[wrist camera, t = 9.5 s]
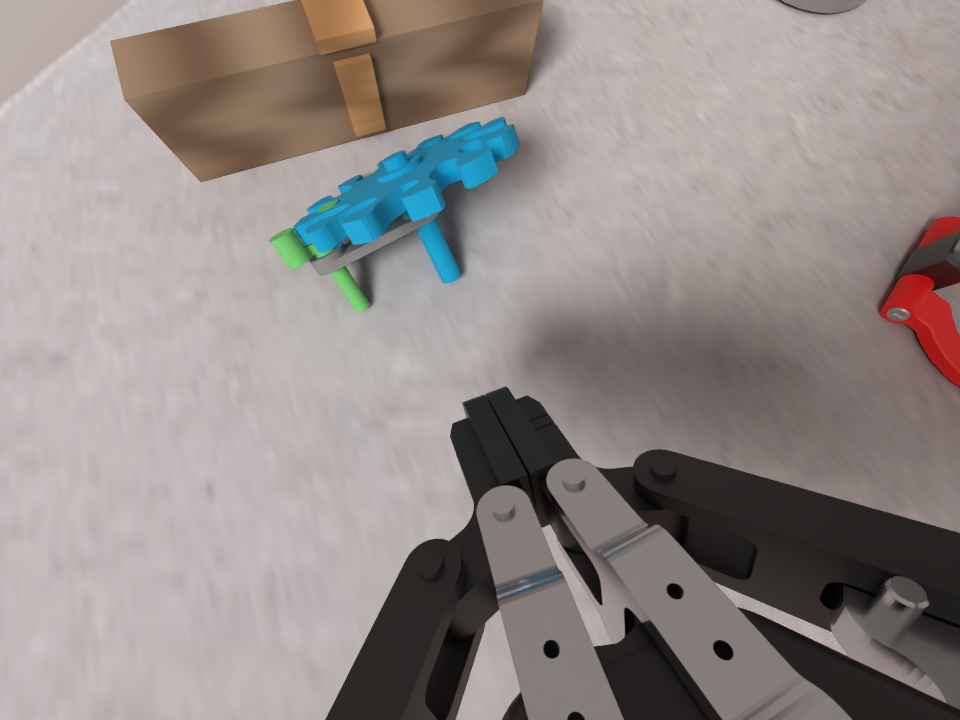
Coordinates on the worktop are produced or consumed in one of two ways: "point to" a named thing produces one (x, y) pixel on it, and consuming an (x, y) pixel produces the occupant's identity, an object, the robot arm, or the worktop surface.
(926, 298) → the tow hook
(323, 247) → the gear
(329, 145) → the rail
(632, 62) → the worktop surface
